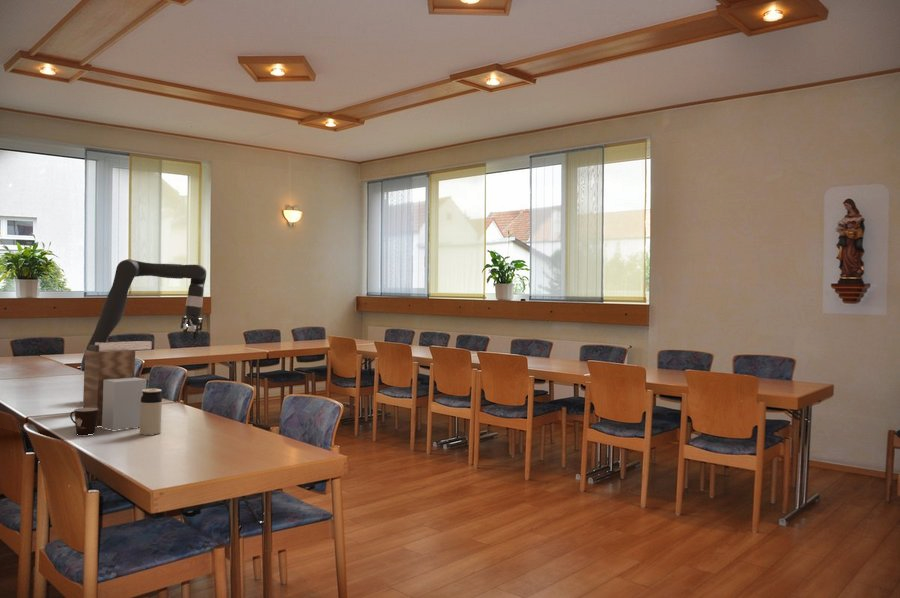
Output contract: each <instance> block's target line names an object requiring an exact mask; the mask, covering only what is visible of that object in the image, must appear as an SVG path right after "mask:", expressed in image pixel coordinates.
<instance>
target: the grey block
mask: <svg viewBox="0 0 900 598" xmlns="http://www.w3.org/2000/svg"><path fill="white" fill-rule="evenodd" d="M147 381H148V380H147V379H145V378H140V377H137V376H136V377H135V376H134V378H121V379H108V380H104V382H103V410H102V427H103V428H107V429H111V430H118V429H126V428H134V427H140V410H141V397H142V395H143V392H142V390H144V389H147ZM102 427H101V428H102ZM134 429H135V428H134ZM126 430H127V429H126Z"/></svg>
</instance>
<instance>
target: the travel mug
mask: <svg viewBox="0 0 900 598" xmlns="http://www.w3.org/2000/svg"><path fill="white" fill-rule="evenodd" d="M142 392H143V395H142V397H141V410H140V428H139V434H140V435H142V434H146V435H145V436H151V435H150V434H156V435H159V434H160V433H162V410H163V409H162V407H163V406H162V405H163V404H162V403H163V397H162V395H161V393H162V389H160V388H146V389H144V390H142ZM158 433H159V434H158Z"/></svg>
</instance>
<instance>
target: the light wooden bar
mask: <svg viewBox="0 0 900 598" xmlns="http://www.w3.org/2000/svg"><path fill="white" fill-rule="evenodd" d="M152 343H153V342H152V341H150V340H149V341H148V340H143V341H141V340H140V341H139V340H138V341H111V342H110V341H107V342H100V343H95V345H98V346H99V351H119V350H134V351H141V350H152Z"/></svg>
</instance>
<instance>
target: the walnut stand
mask: <svg viewBox="0 0 900 598" xmlns="http://www.w3.org/2000/svg"><path fill="white" fill-rule="evenodd" d="M83 369H84V371H83V395H82V396H83V397H82V399H83V400H82V401H83V402H82V408H98V415H97V421H96V427H97V426H102V410H103V382H104V380H108V379H121V378H135V371H136V350H119V351H99V346H98V345H89V350H86V349H85V350H84V368H83Z"/></svg>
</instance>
